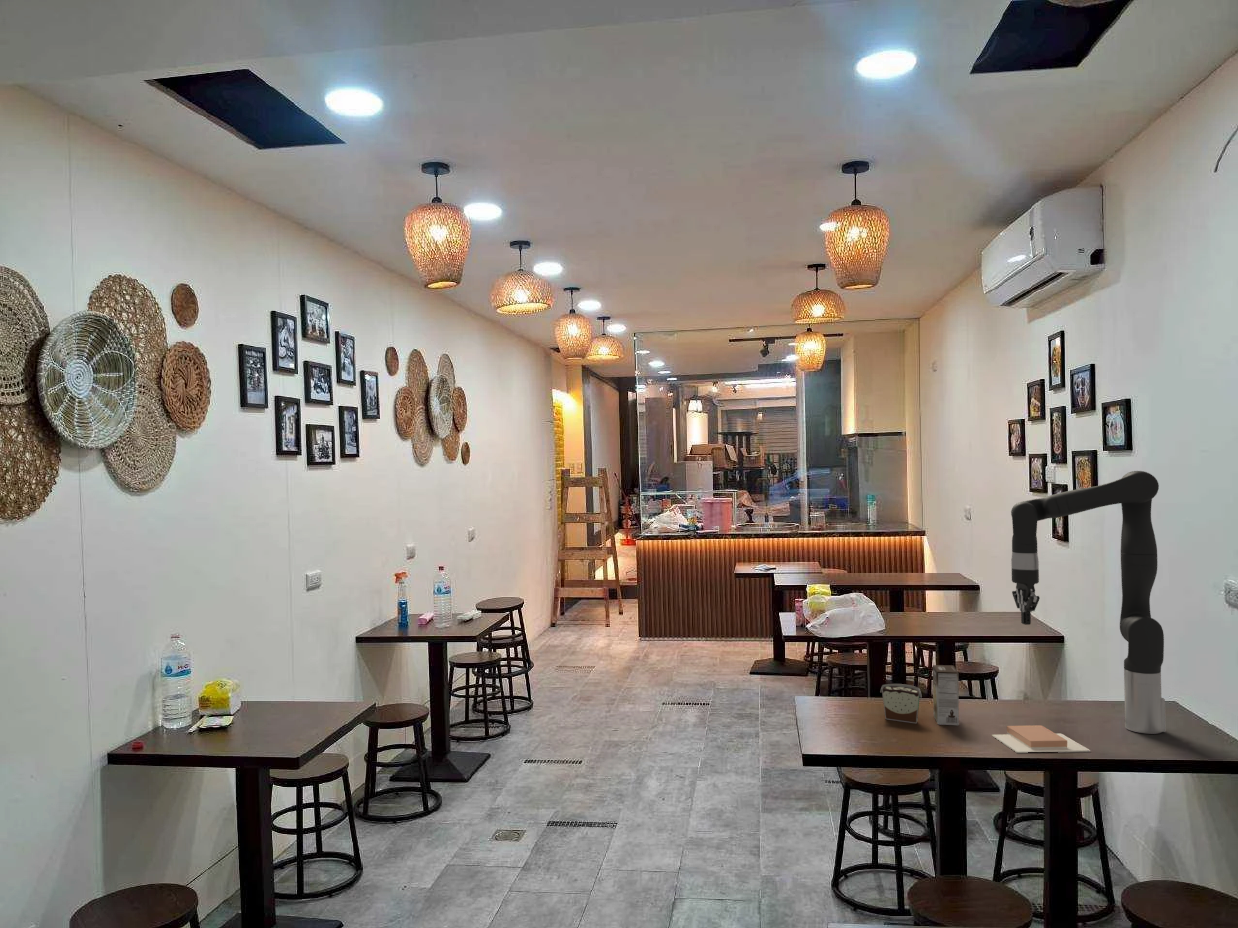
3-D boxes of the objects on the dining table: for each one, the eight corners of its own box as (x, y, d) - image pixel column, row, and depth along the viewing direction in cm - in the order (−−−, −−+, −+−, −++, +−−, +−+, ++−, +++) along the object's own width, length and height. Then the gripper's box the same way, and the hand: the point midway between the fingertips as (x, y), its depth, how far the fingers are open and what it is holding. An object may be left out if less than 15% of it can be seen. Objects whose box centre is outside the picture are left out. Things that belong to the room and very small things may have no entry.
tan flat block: (1041, 725, 247) (1067, 740, 233) (1041, 732, 247) (1067, 747, 233) (1006, 725, 247) (1030, 740, 233) (1006, 732, 247) (1030, 748, 233)
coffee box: (932, 716, 266) (931, 664, 266) (954, 717, 265) (953, 664, 265) (937, 724, 257) (936, 671, 257) (960, 725, 256) (959, 671, 256)
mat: (1061, 734, 246) (1061, 733, 246) (1090, 751, 231) (1090, 750, 231) (991, 735, 245) (991, 734, 245) (1016, 753, 230) (1016, 751, 230)
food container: (926, 719, 263) (926, 686, 263) (921, 724, 258) (921, 690, 258) (885, 713, 270) (885, 681, 270) (880, 718, 264) (880, 685, 264)
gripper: (1048, 569, 255) (1049, 627, 255) (1026, 564, 268) (1027, 620, 268) (1023, 569, 255) (1024, 628, 255) (1002, 565, 268) (1003, 620, 268)
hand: (1026, 624), depth 261 cm, fingers closed
